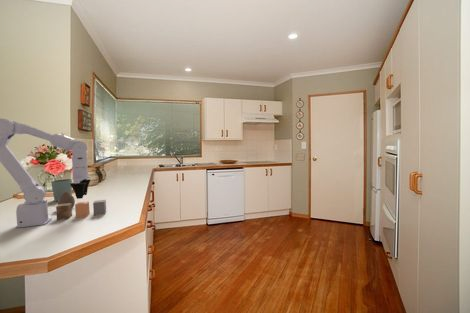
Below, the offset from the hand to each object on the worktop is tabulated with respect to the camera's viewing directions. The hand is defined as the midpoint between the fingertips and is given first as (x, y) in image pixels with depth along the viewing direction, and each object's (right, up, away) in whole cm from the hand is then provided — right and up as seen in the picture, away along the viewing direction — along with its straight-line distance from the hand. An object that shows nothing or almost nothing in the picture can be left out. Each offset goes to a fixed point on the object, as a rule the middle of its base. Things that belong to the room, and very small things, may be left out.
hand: (81, 196), depth 105 cm
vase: (-16, -9, +12) cm, 22 cm away
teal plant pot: (-34, -8, +34) cm, 49 cm away
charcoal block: (+7, -9, +3) cm, 11 cm away
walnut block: (-6, -9, -2) cm, 11 cm away
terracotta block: (0, -9, 0) cm, 9 cm away
